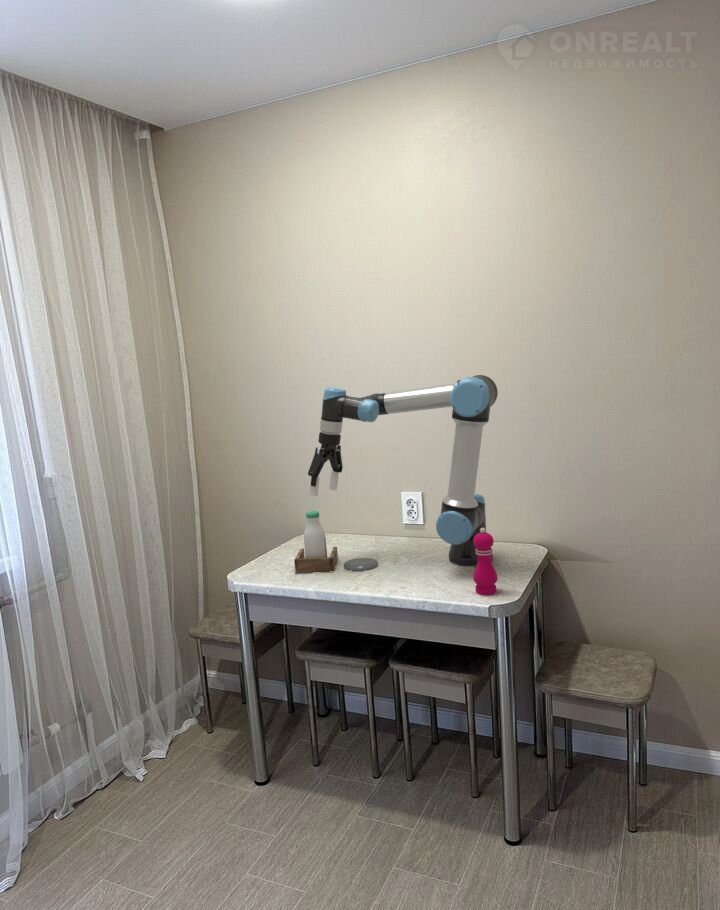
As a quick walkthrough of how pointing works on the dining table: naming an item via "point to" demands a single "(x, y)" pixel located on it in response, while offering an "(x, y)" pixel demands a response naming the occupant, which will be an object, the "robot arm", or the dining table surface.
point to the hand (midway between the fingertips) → (323, 492)
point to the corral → (315, 563)
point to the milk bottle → (314, 537)
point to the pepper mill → (484, 564)
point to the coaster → (361, 564)
